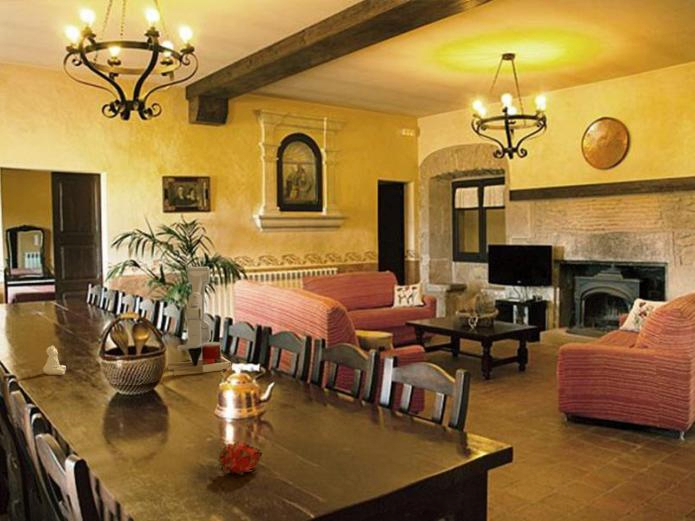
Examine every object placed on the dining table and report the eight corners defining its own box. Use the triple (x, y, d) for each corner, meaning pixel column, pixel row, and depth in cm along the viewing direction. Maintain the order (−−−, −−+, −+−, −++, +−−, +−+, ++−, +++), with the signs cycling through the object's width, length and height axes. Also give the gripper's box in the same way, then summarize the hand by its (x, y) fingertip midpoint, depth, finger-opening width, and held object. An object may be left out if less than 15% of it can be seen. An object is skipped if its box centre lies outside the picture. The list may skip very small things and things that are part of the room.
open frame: (195, 366, 269) (195, 359, 269) (222, 363, 275) (222, 356, 275) (203, 372, 258) (202, 365, 257) (231, 369, 264) (231, 362, 263)
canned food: (218, 369, 262) (218, 345, 261) (200, 370, 262) (200, 345, 261) (222, 366, 270) (222, 341, 269) (204, 366, 269) (204, 341, 269)
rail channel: (167, 369, 263) (167, 363, 263) (195, 366, 269) (195, 360, 269) (174, 375, 252) (174, 369, 252) (203, 372, 258) (202, 366, 257)
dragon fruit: (214, 483, 149) (258, 479, 155) (227, 472, 143) (272, 468, 150) (210, 449, 153) (253, 446, 160) (222, 437, 148) (266, 435, 154)
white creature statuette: (64, 374, 255) (63, 346, 254) (42, 376, 251) (41, 348, 251) (66, 369, 263) (65, 342, 263) (44, 371, 260) (43, 344, 260)
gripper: (180, 337, 255) (180, 369, 255) (213, 334, 262) (214, 365, 262) (176, 335, 261) (176, 365, 261) (208, 332, 268) (209, 362, 268)
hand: (195, 365), depth 262 cm, fingers closed
